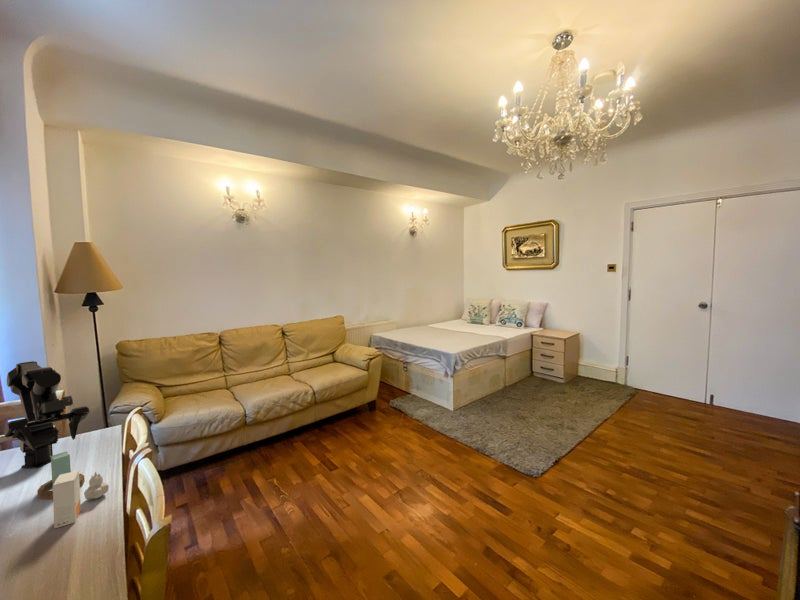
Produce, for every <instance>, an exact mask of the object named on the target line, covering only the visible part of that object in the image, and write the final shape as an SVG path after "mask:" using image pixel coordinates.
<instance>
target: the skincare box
mask: <svg viewBox="0 0 800 600" xmlns="http://www.w3.org/2000/svg"><path fill="white" fill-rule="evenodd" d="M79 474H80V471H79V470H74V471H71V472H70V473H65V474H61V475H59V476H58V478H57V479H56V481H55V483H54V484H53V487H52V491H53V499H52V500H53V501H52V503H53V505H52V506H53V523H54V524H53V525H54V526H53V527H54V529H57V528H60V527H64V526H67V525H71V524H74V523H76V521H77V519H78V517H79V515H80V512H81V510H82V509H81V490H80V489H81V487H80V483H79Z"/></svg>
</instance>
